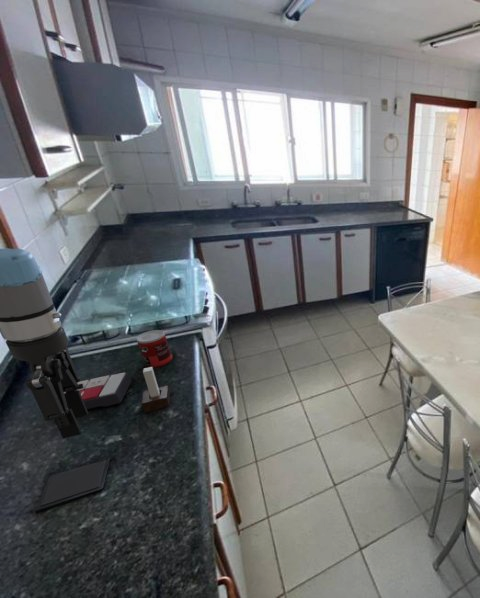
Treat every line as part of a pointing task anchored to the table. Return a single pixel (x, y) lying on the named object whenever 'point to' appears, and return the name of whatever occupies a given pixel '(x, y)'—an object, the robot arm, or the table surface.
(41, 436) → the table surface
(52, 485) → the plate
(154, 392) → the white square rod
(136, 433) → the table surface
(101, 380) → the red grey flat block
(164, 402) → the pen stand
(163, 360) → the canned food
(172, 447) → the table surface
